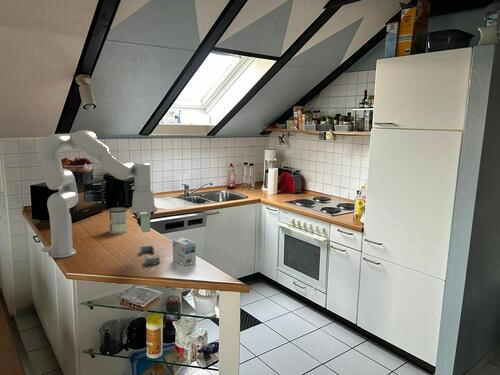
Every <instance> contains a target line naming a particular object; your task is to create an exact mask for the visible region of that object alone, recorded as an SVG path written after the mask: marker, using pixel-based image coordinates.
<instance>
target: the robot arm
mask: <svg viewBox="0 0 500 375" xmlns="http://www.w3.org/2000/svg"><path fill="white" fill-rule="evenodd" d="M75 150H80V151H82V152H83V153H85V154H86V155H87V156H89V157H91V158H92V159H93V160H94V161H96V162H97V163H98V164H99V166H100V167H101V168H102V169H103V170H104V171H106V172H107V173H108V174H110V175H111V176H113V177H114V178H116V179H119V180H127V179H129V178H130V179H131V178H133V177H134V185H133V186H131V190H134V191H133V193H132V202H131V203H132V206H131V207H130V210H129V214H131V215H133V216H134V217H136V224H137V225H138V224H139V225H138V227H139V226H141V220H140V212H146V213H147V214H148V216H149V217H150V218H151V217H153V215H154V214H155V213H156V212H158V208H157V207H156V206H155V197H154V192H153V190H152V187H151V186H152V185H151V184H152V183H151V181H152V180H151V178H152V177H151V165H150V163H148V162H147V163H146V162H139V163H137V162H131V161H125V162H122V161H119V160H118V159H117V158H115V157H114V156H113V155H112V154H111V153H110V150H109V147H108V146H107V145H106V144H104V143H103V142H102V141H100V140H98V136H97V135H96V133H94V132H93V131H92V130H87V129H86V130H84V129H83V130H77V131H75V132H71V133H70V132H69V133H55V134H49V135H47V136H44V138H43V139H42V140H41V141H40V143H39V146H38V155H39V157H40V161H41V165H42V171H43V177H44V182H45V185H46V186H47V188H48V189H49V190H54V191H56V190H57V191H58V192H57V191H56V192H55V193H53V194H51V195H50V196H49V197H48V198H47V202H46V206H47V209H48V210H47V211H48V215H49V225H50V242H51V245H50V246H46V247H45V246H44V247H43V246H42V247H41V252H43V253H47V252H48V257H50V258H53V259H54V258H55V259H56V258H57V259H61V258H62V259H63V258H68V257H72V256H74V255H75V254H76V253H77V250H76V249H75V248H73V246H74V245H73V229H72V228H73V227H72V226H73V224H72V216H71V213H70V209H71V208H73V207H75V206H76V205H77V204H78V202H79V193H78V186H77V183H76V177H75V175H74V174H73V172H72V171H71V170H69V169H68V168H64V167H63V163H62V159H61V158H60V156H59V154H58V153H60V152H68V151H75ZM151 223H152V222H151V220H150V224H151Z"/></svg>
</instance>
